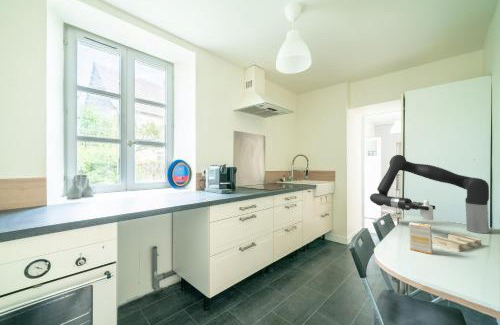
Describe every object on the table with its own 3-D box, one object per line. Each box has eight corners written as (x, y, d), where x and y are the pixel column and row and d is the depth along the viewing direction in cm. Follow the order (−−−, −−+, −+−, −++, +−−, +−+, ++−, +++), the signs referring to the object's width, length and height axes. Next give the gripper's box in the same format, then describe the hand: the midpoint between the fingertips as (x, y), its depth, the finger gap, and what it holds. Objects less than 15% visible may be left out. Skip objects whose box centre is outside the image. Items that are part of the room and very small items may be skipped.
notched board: (453, 238, 114) (453, 233, 114) (481, 245, 104) (481, 239, 104) (431, 243, 108) (431, 237, 108) (458, 251, 97) (458, 245, 97)
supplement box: (432, 251, 98) (431, 224, 98) (431, 254, 95) (430, 226, 95) (411, 246, 104) (410, 221, 104) (409, 249, 101) (408, 223, 101)
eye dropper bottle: (421, 217, 122) (420, 197, 122) (434, 219, 117) (433, 198, 118) (419, 219, 119) (419, 198, 119) (432, 220, 115) (431, 199, 115)
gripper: (393, 198, 129) (423, 202, 113) (408, 196, 134) (439, 200, 118) (393, 210, 129) (424, 216, 113) (408, 207, 134) (439, 213, 118)
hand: (431, 208), depth 116 cm, fingers closed on eye dropper bottle, 5 cm apart
